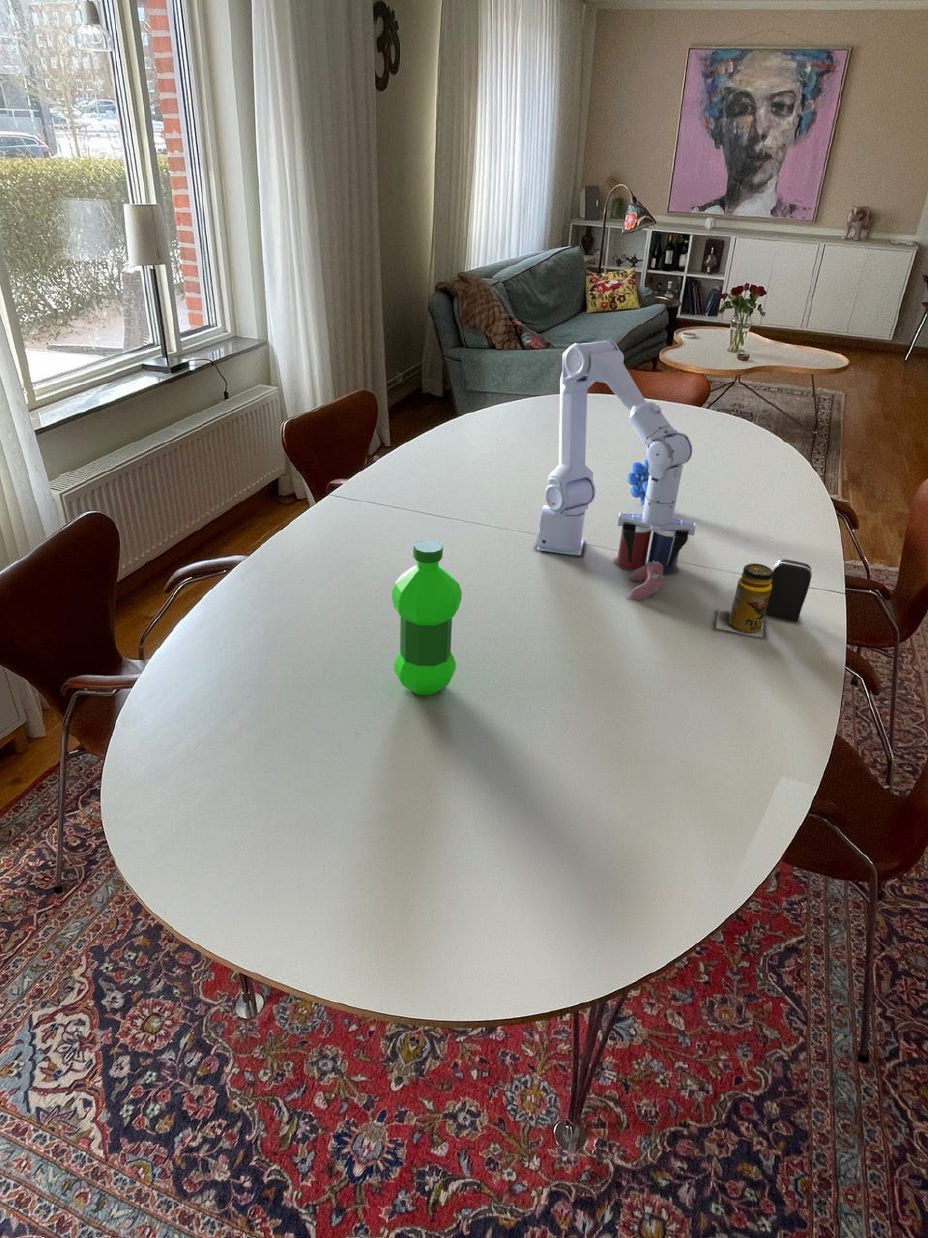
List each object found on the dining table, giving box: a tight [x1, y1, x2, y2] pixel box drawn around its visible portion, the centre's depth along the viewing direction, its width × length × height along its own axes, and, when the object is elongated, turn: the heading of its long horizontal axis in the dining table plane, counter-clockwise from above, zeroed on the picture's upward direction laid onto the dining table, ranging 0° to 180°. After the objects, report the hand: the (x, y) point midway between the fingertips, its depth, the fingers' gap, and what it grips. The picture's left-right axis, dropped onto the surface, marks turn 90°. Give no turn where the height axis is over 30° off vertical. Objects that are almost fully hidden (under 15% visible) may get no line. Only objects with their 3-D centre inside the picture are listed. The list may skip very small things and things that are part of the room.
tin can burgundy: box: [616, 526, 652, 571], centre depth 175 cm, size 6×6×9 cm
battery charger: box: [765, 558, 813, 623], centre depth 158 cm, size 7×4×11 cm, turn 68°
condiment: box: [715, 562, 773, 638], centre depth 154 cm, size 7×8×12 cm
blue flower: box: [626, 458, 649, 506], centre depth 202 cm, size 12×7×12 cm, turn 68°
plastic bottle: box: [391, 539, 463, 696], centre depth 129 cm, size 10×10×25 cm
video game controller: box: [629, 560, 664, 600], centre depth 166 cm, size 10×5×7 cm, turn 168°
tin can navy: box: [647, 530, 680, 575], centre depth 174 cm, size 6×6×9 cm
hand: (649, 562), depth 164 cm, fingers open, 7 cm apart
